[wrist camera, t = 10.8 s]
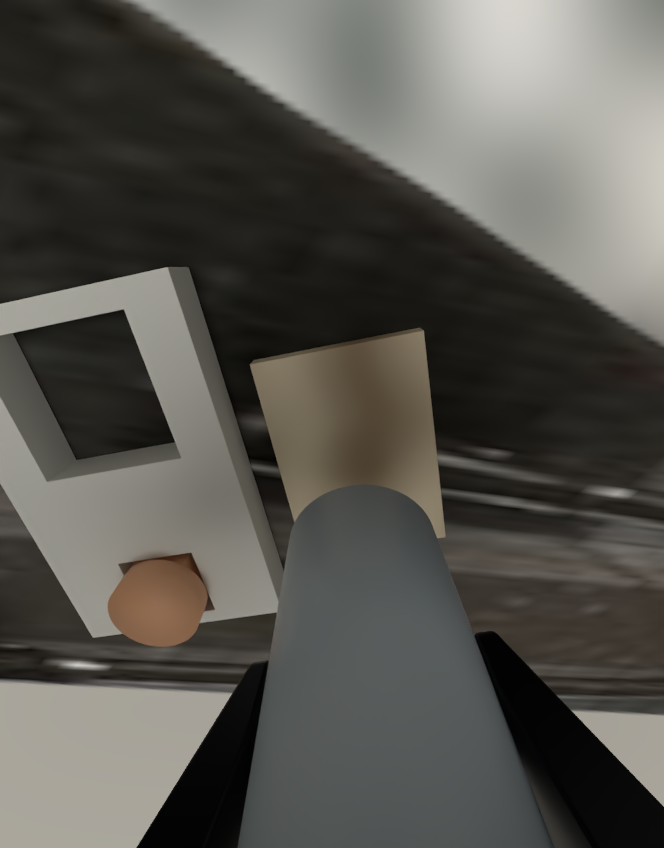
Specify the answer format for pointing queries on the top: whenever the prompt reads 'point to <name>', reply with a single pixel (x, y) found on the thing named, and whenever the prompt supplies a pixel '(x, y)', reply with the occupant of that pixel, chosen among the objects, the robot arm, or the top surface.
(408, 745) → the cylinder
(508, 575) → the top surface
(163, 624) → the plunger
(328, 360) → the pad
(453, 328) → the top surface
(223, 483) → the white tray
